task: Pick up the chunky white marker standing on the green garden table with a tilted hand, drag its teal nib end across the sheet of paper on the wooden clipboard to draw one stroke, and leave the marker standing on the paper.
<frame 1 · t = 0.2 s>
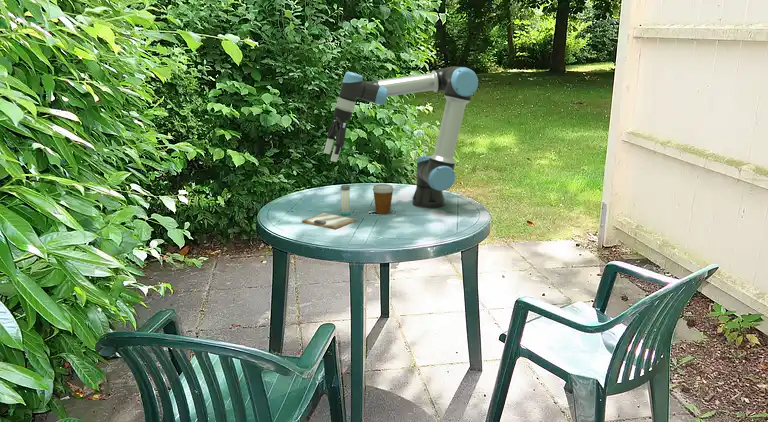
hand: (330, 157, 265), 27 cm above the table, tool tilted 15°, fingers open, 13 cm apart
disposable coffee cup: (383, 212, 281), on the table
clipboard: (329, 221, 266), on the table
marker: (345, 214, 277), on the table
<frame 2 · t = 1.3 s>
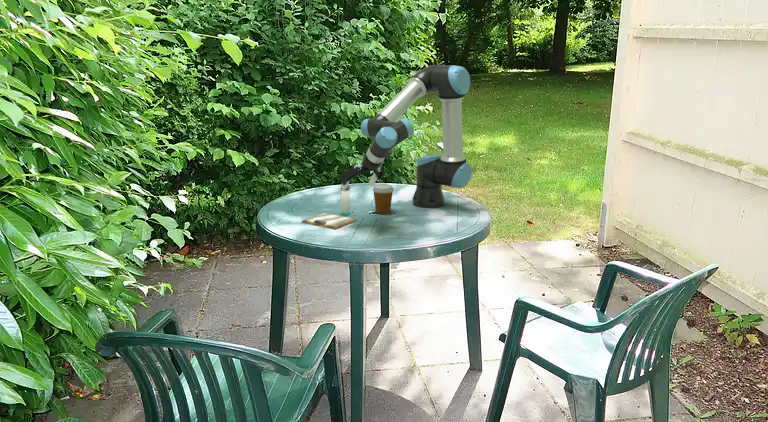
hand: (356, 186, 265), 15 cm above the table, tool tilted 45°, fingers open, 13 cm apart
nothing on the table moved.
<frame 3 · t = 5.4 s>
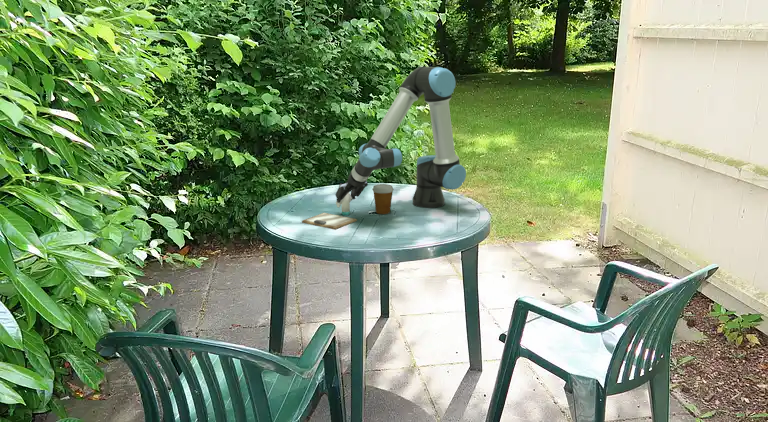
hand: (341, 204, 280), 4 cm above the table, tool tilted 45°, fingers closed on marker, 3 cm apart
marker: (345, 214, 277), on the table, touching gripper
everything else where it was.
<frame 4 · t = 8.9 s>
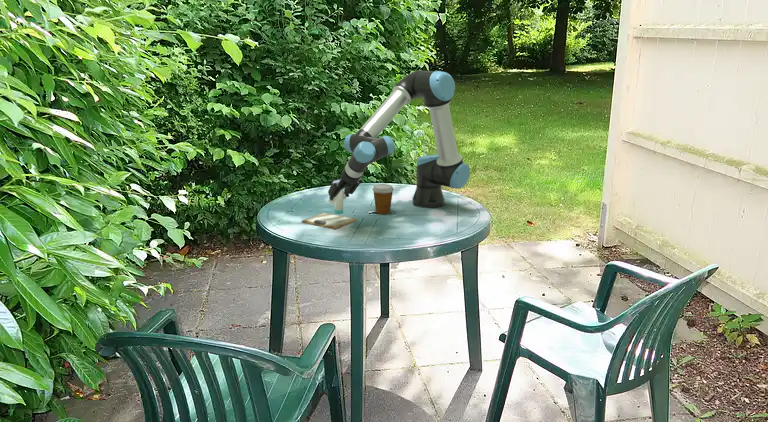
hand: (334, 202, 265), 8 cm above the table, tool tilted 45°, fingers closed on marker, 3 cm apart
marker: (338, 212, 263), point 5 cm above the table, touching gripper
everything else where it was.
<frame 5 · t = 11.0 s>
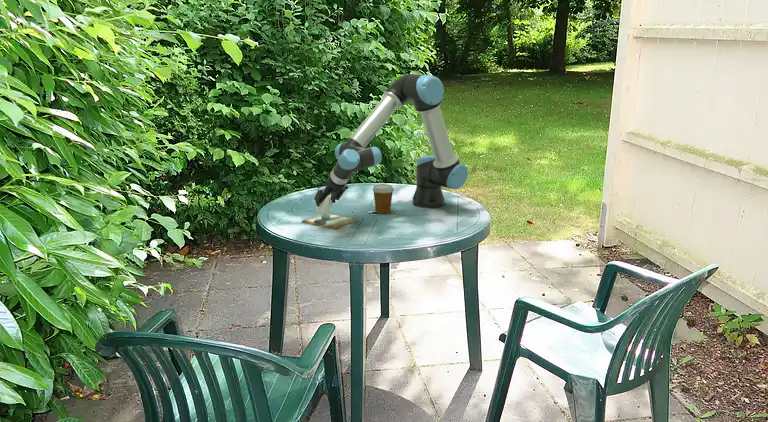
hand: (321, 208, 268), 5 cm above the table, tool tilted 45°, fingers closed on marker, 3 cm apart
marker: (325, 218, 266), point 1 cm above the table, touching gripper
everything else where it was.
when the fingers open (5 cm above the table, at t = 12.7 s): marker stays where it is, resting on clipboard.
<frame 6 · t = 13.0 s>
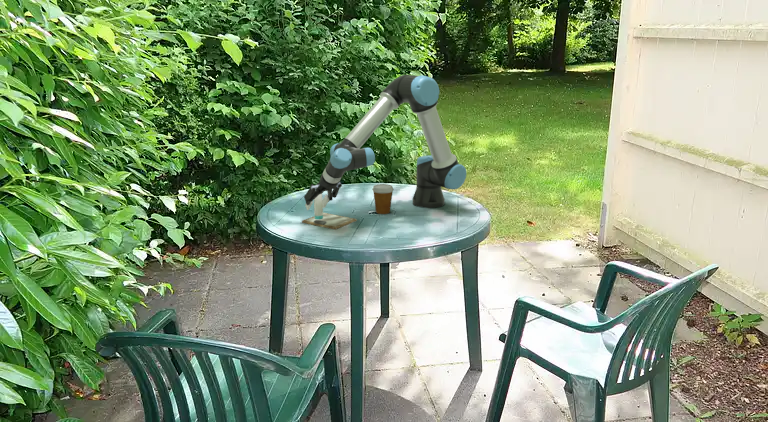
hand: (315, 206, 270), 5 cm above the table, tool tilted 45°, fingers open, 7 cm apart
marker: (318, 218, 268), point 1 cm above the table, touching clipboard
everything else where it was.
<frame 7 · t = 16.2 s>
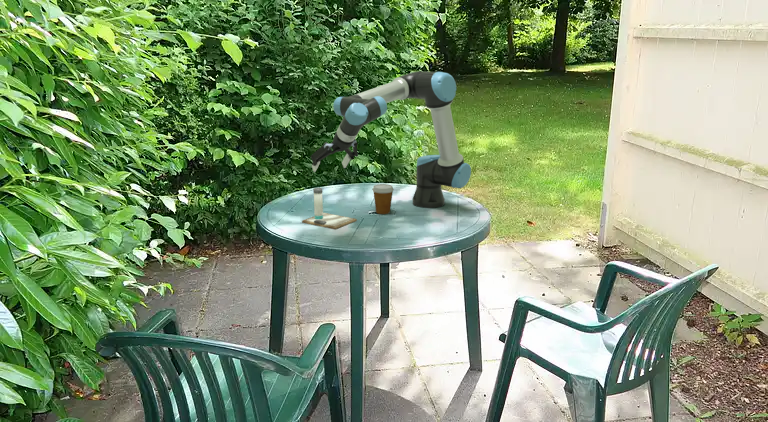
hand: (328, 167, 253), 25 cm above the table, tool tilted 45°, fingers open, 13 cm apart
nothing on the table moved.
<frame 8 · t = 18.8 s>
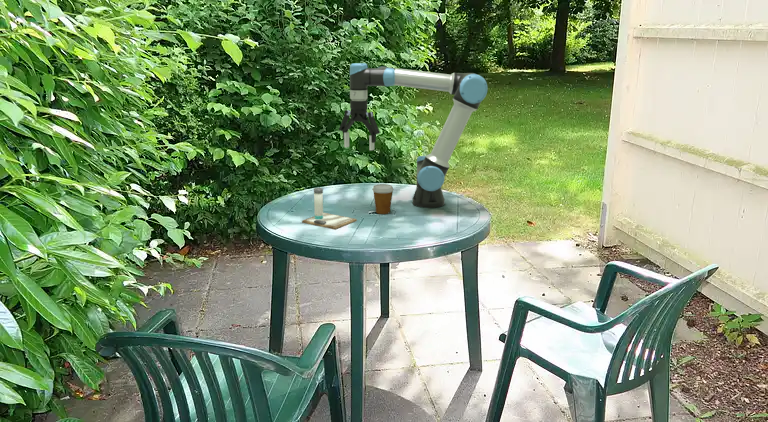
hand: (359, 148, 275), 29 cm above the table, tool pointing down, fingers open, 13 cm apart
nothing on the table moved.
at the end: marker inside the target area (5.1 cm from its centre), point 1.0 cm above the table; marker tilted 1°; the gripper is holding nothing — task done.
